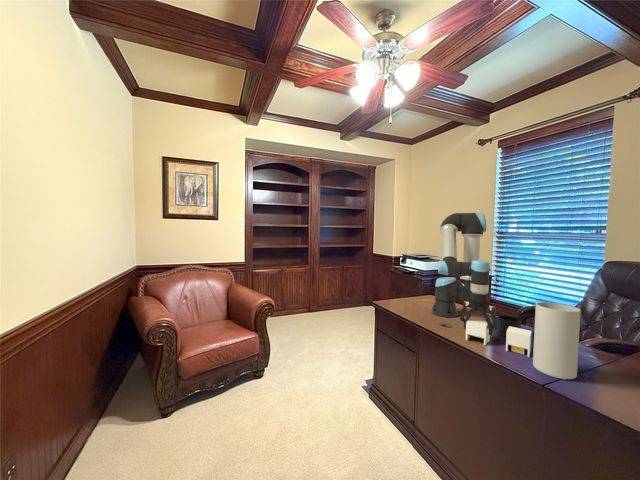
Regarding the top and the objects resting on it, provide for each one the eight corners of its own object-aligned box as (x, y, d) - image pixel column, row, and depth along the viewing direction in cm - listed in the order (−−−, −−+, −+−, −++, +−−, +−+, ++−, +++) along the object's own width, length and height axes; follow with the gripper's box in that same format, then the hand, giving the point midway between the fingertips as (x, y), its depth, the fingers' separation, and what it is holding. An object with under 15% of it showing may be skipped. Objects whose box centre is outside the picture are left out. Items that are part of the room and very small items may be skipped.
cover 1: (470, 335, 133) (470, 317, 133) (488, 340, 128) (489, 321, 127) (465, 340, 127) (466, 321, 127) (485, 345, 122) (486, 326, 121)
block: (512, 347, 120) (513, 338, 120) (525, 351, 117) (525, 341, 117) (511, 351, 116) (511, 341, 116) (524, 354, 113) (524, 344, 113)
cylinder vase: (524, 365, 104) (527, 303, 103) (546, 361, 107) (549, 301, 107) (562, 383, 92) (565, 312, 91) (585, 377, 96) (588, 310, 95)
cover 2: (508, 345, 122) (509, 326, 122) (530, 350, 117) (531, 330, 116) (505, 350, 116) (506, 330, 116) (529, 357, 111) (530, 336, 110)
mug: (529, 338, 130) (529, 320, 130) (508, 340, 128) (509, 321, 128) (511, 331, 140) (512, 314, 139) (492, 332, 137) (493, 315, 137)
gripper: (453, 290, 131) (451, 334, 132) (504, 297, 117) (502, 347, 117) (457, 287, 136) (456, 330, 137) (506, 295, 122) (504, 342, 123)
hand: (477, 338), depth 127 cm, fingers closed on cover 1, 8 cm apart
